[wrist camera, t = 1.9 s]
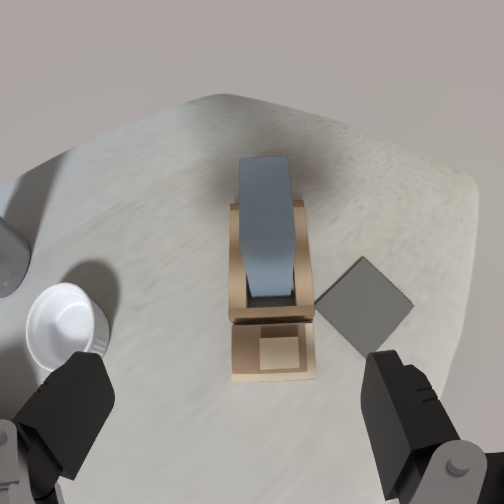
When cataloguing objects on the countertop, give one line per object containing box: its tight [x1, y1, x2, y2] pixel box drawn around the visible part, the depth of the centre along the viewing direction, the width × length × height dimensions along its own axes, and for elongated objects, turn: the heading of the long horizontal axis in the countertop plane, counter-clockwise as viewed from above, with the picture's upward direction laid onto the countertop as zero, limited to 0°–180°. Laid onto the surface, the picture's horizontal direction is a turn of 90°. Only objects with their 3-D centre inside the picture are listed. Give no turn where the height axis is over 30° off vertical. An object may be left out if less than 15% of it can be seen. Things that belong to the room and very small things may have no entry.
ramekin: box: [26, 282, 109, 372], centre depth 27 cm, size 9×9×4 cm
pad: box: [314, 258, 414, 359], centre depth 28 cm, size 7×7×1 cm
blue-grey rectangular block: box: [239, 156, 296, 299], centre depth 26 cm, size 7×4×11 cm, turn 1°
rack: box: [229, 200, 316, 382], centre depth 28 cm, size 17×7×4 cm, turn 1°
